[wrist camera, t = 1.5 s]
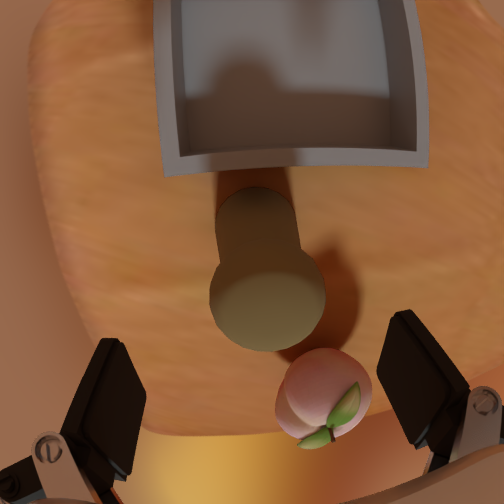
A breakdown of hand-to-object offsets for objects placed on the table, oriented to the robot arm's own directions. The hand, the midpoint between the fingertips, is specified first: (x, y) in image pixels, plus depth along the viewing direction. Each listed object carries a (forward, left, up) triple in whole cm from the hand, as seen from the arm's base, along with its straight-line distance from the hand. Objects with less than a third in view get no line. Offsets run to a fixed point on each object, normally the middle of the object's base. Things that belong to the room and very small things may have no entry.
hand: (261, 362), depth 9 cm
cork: (-1, 0, -14) cm, 14 cm away
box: (-4, -13, -13) cm, 19 cm away
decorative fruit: (-6, +14, -14) cm, 20 cm away
